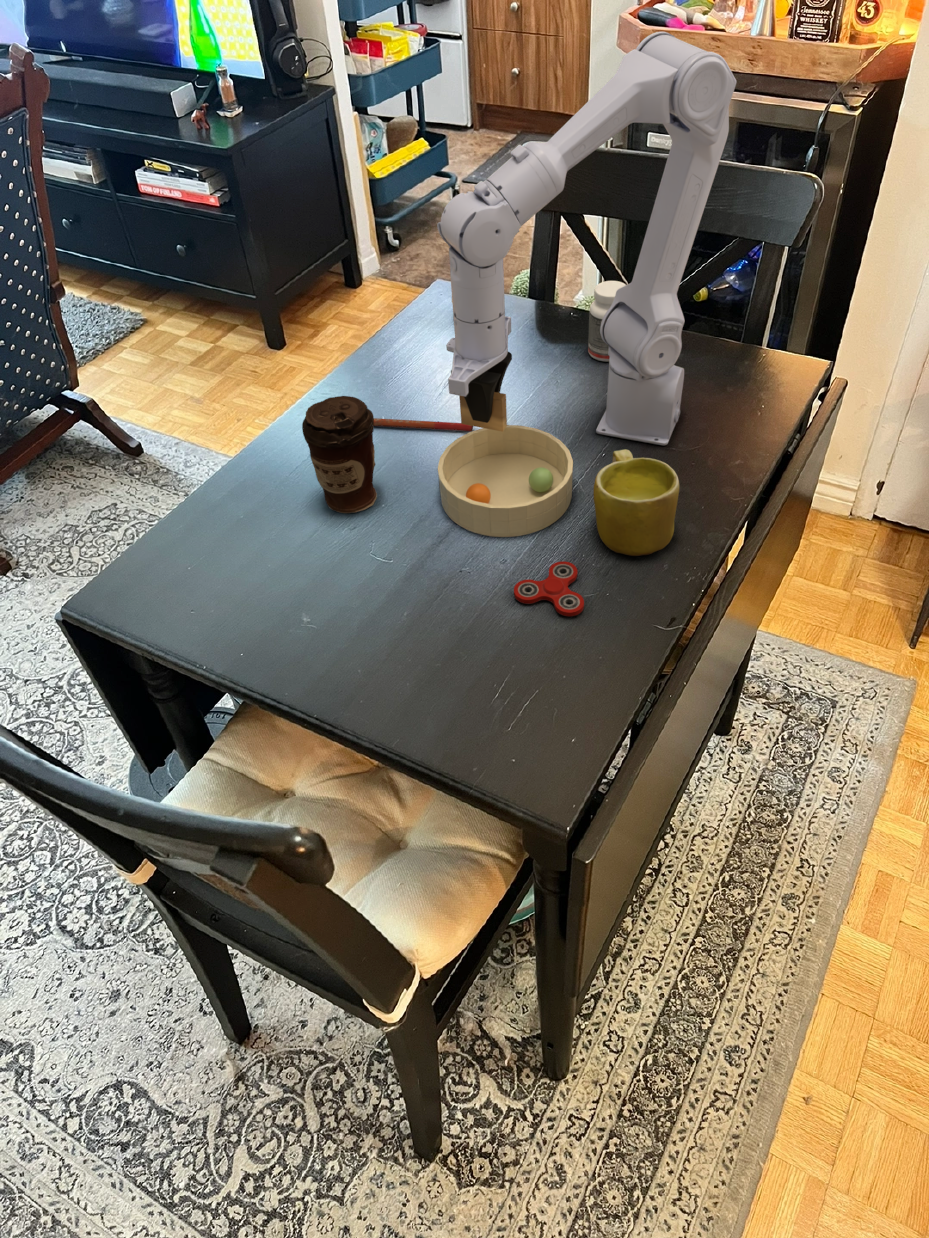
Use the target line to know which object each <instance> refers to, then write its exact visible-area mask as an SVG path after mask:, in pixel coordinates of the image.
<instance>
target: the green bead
mask: <svg viewBox="0 0 929 1238" xmlns="http://www.w3.org/2000/svg"><path fill="white" fill-rule="evenodd" d="M552 484H553V475H552V473H551V472H550V471H549V470H548V469H546V468H543V467H539V468H536V469H534V470H533V471H532V472H531V473H530V475H529V485H530V487H531V488H532V489H533V490H535V491H537V492H545V491H547V490H548V489H550V488H551V486H552Z"/></svg>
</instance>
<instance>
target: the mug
mask: <svg viewBox="0 0 929 1238" xmlns="http://www.w3.org/2000/svg"><path fill="white" fill-rule="evenodd" d="M679 493H680V480H679V476H678V474H677V473H676V471H675V469H673V468H672V467H671V466H670V465H669V464H668V463H666V462H664V461H661V460H659V459H655V458H651V457H633V453H632V452H631V451H630V450H629V449H625V448H624V449H619V450H614V451H613V452H612V462H611V463H610V464H607V465H605V466H604V467H602V468H601V469H600V470H599V471H598V472H597V474H596V475H595V478H594V483H593V504H594V511H595V517H596V518H595V521H596V528H597V529H596V530H597V532H598V535H599V538H600V540H601V541H602V542H603V544H604V545H605V546H606V547H607V548H608V549H609V550H611V551H612V552H614V553H616V554H622V555H626V556H629V557H640V556H648V555H651V554H653V553H655V552H657V551H658V552H659V551H661V550H663V549H664V548H665V547H666V546H667V545H669V544H670V542H671V540H672V538H673V536H674V532H675V520H676V519H675V518H676V511H677V508H678V507H677V506H678V501H679Z"/></svg>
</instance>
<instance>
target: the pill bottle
mask: <svg viewBox="0 0 929 1238" xmlns="http://www.w3.org/2000/svg"><path fill="white" fill-rule="evenodd" d="M626 285H627V284H626V283H624V282H622V281H618V280H606V281H602V282H599V283H597V284H596V285H595V287H594V289H593V298H594V300H593V301H592V302H591V304H590V306H589V316H588V317H589V319H588V340H587V341H588V342H587V343H588V344H587V353H588V354H589V356H590V357H591V358H593V359H594V360H596V361H600V362H608V363H609V358H610V356H609V355H608V349H609V345H607V344H606V343H605V342H604V341H603V339H602V337H601V334H600V326H601V322H602V319H603V317H604V315H605V313H606V312H607V311H608V309H609V308H610V307H611V305H612V303H613V301H614V298H615V295H616V291H617V290H618V289H620V288H621V287H624V286H626Z"/></svg>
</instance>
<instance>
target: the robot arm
mask: <svg viewBox="0 0 929 1238" xmlns="http://www.w3.org/2000/svg"><path fill="white" fill-rule="evenodd" d="M736 86H737V78H736V77H735V76H734V74H733V71H732V70H731V68H730V67H729V64H728V63H727V61H726V59H725V58H724V57H723V56H722V55H720V54H718V53H716V52H713V51H707V50H705V49H703V48H700V47H698V46H696V45H694V44H691V43H689V42H686V41H684V40H682V39H679V38H677V37H676V36H675V35H673V34H671V33H669V32H667V31H656V32H653V33H651V34H649V35H647V36H646V37H644V38H643V39H642V40H641V42H639V44H638V45H637V46H636V48H634V49H632V50H631V51H628V52H626V54H624V55H623V57H622V59H621V61H620V63H619V65H618V67H617V70H616V72H615V74H614V75H613V76H612V77H611V78H610V79H609V80H608V81H607V82H606V83H605V84H604V85H603V86H602V87H601V88H600V89H599V90H598V91H597V92H596V93H595V94H593V96H592V97H591V98H590V99H589V100H588V101H587V102H586V103H585V104H584V105H583V106H582V107H581V108H579V110H578V111H577V112H576V113H574V115H572V116H571V118H570V119H569V120H567V122H566V123H565V124H563V125H562V126H561V128H559V129H558V131H556V133H554V134H553V135H552V136H551V137H550V138H549V139H548V140H547V141H543V142H542V141H528V142H527V143H526V144H524V146H523V145H522V144H518V145H517V146H516V147H514V148H513V149H512V150H511V151H510V156H511V157H510V158H509V159H508V160H506V161H505V162H504V163H503V164H502V165H501V166H500V167H499V168H497V169H496V170H495V171H494V172H493V173H492V174H490V175H489V176H488V177H487V178H485V180H484V181H482V180H480V181H479V182H478V183H476V184H475V185H474V187H473V188H474V190H473V191H471V190H470V191H466V193H464V192H460V193H459V194H456V195H454V196H453V197H452V198H451V199H450V200H449V201H448V202H447V203H446V205H445V206H444V209H443V212H442V213H441V216H440V221H439V222H437V224H436V227H437V232H438V234H439V236H440V238H441V239H442V241H444V242H445V244H447V246H448V256H449V270H450V271H449V274H450V275H449V276H450V289H451V303H452V304H451V305H452V314H453V328H454V337H452V338H450V339H449V340H448V341H447V343H446V345H445V346H446V351H447V352H449V353H453V356H452V367H451V370H450V375H449V376H448V379H447V383H448V394H450V395H454V396H458V397H459V396H464V398H465V401H466V403H467V406H468V409H469V411H470V414H471V417H472V419H473V420H475V421H480V422H485V423H488V422H489V420H490V418H491V414H492V406H493V396H494V392H497V393H501V389H502V384H503V381H504V378H505V375H506V372H507V370H508V368H509V366H510V364H511V361H512V360H513V353H512V352H510V351H509V336H510V335H511V333H512V317H511V316H506V303H505V302H506V301H505V299H506V298H505V269H504V268H505V267H504V259H505V258H506V256H508V253H509V252H510V250H511V248H512V246H513V243H514V239H515V237H516V235H517V234H518V233H520V229H521V228H522V226H524V225H525V224H526V223H527V222H528V221H530V220H531V219H532V218H533V217H534V216H535V215H537V214H538V213H539V212H540V211H541V210H542V209H543V208H544V207H546V206H547V205H548V204H549V203H550V202H552V201H553V200H554V199H555V198H556V197H557V196H559V194H561V193H562V192H563V191H564V189H565V184H566V177H567V173H568V172H569V170H571V169H572V168H574V167H575V166H576V165H578V164H579V163H580V162H582V161H583V160H584V159H586V158H587V157H588V156H590V155H591V154H592V153H593V152H595V151H596V150H597V149H599V148H600V147H602V146H603V145H605V143H607V142H609V140H611V139H612V138H613V137H615V136H616V135H617V134H619V133H620V132H621V131H623V130H624V129H625V128H627V127H628V126H629V125H631V124H633V123H634V124H635V123H639V124H640V123H641V124H659V125H660V124H661V125H663V127H664V128H665V130H666V132H667V134H668V136H669V137H670V139H671V144H670V149H669V152H668V156H667V159H666V162H665V165H664V169H663V173H662V176H661V180H660V183H659V187H658V191H657V193H656V198H655V200H654V204H653V207H652V211H651V214H650V218H649V221H648V225H647V228H646V231H645V235H644V239H643V241H642V246H641V249H640V252H639V255H638V259H637V263H636V266H635V269H634V272H633V277H632V280H631V282H630V283H628V284H626V286H624V287H621V288H620V289H618V290H617V291H616V295H615V298H614V301H613V303H612V305H611V307H610V308H609V309H608V311H607V312H606V313H605V315H604V317H603V319H602V322H601V326H600V334H601V337H602V339H603V341H604V342H605V343H606V344H607V345H609V349H608V355H609V356H610V358H609V362H608V374H607V375H608V376H607V388H606V389H607V390H606V395H607V396H606V404H605V405H606V407H605V408H606V409H605V411H604V413H603V415H602V417H601V419H600V421H599V423H598V425H597V427H596V430H595V432H596V434H598V435H603V436H609V437H613V438H619V439H624V440H631V441H636V442H642V443H646V444H647V443H648V444H653V445H658V446H664V447H665V446H668V445H669V442H670V439H671V437H672V434H673V431H674V430H675V427H676V425H677V423H678V422H679V418H680V415H681V403H682V397H683V396H682V395H683V389H684V388H683V387H684V380H685V368H684V367H681V366H678V365H675V364H676V362H677V361H678V359H679V357H680V355H681V353H682V347H683V342H682V332H683V327H684V325H685V316H684V313H683V310H682V308H681V304H680V301H679V299H678V291H679V288H680V285H681V282H682V279H683V276H684V272H685V269H686V266H687V263H688V260H689V256H690V254H691V251H692V247H693V245H694V241H695V238H696V235H697V233H698V229H699V226H700V224H701V220H702V216H703V214H704V210H705V208H706V204H707V201H708V198H709V195H710V193H711V189H712V186H713V183H714V180H715V177H716V174H717V171H718V168H719V164H720V162H721V158H722V155H723V153H724V148H725V145H726V143H727V140H728V136H729V133H730V132H729V131H730V104H731V102H732V98H733V94H734V91H735V88H736Z"/></svg>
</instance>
